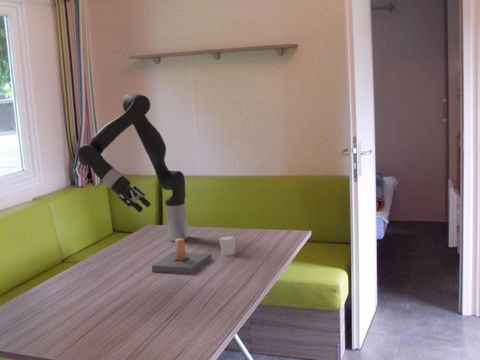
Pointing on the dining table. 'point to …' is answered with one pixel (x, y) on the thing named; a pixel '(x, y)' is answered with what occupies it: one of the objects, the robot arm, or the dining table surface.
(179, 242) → the peg
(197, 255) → the peg board
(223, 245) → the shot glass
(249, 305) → the dining table surface
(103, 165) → the robot arm
